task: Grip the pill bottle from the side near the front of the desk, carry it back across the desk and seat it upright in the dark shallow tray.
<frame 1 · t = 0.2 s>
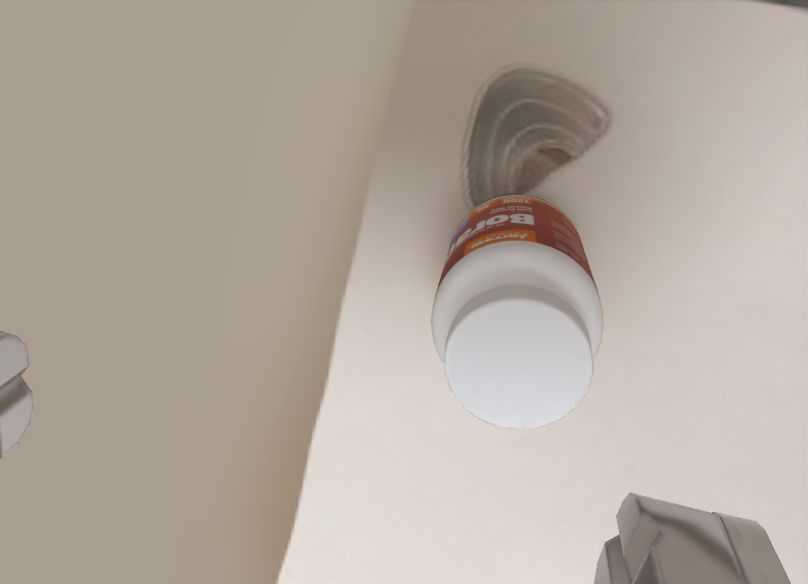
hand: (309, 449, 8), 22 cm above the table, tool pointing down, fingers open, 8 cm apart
pill bottle: (513, 255, 30), on the table
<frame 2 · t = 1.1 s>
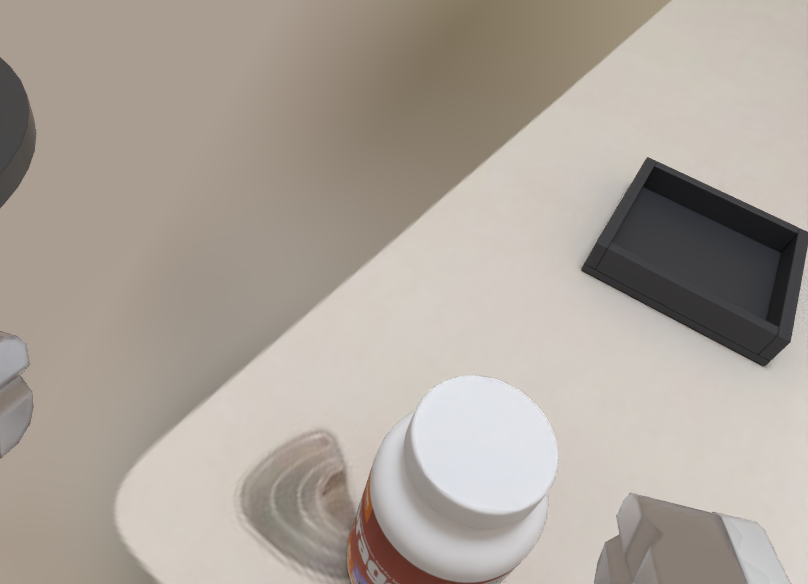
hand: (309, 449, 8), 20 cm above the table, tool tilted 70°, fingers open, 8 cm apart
dark shallow tray: (690, 263, 44), on the table
pill bottle: (415, 563, 27), on the table
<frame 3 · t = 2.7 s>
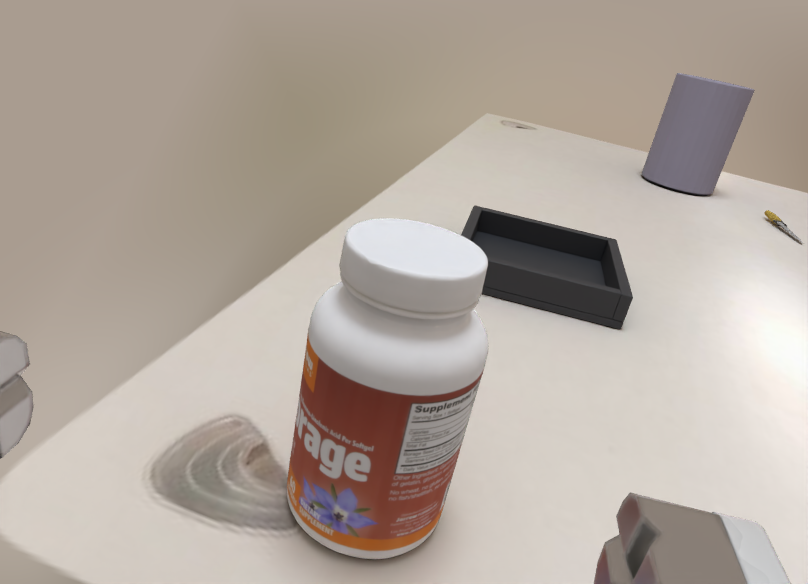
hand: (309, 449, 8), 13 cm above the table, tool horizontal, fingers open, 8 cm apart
dagger: (782, 230, 79), on the table
dark shallow tray: (534, 274, 50), on the table
container: (675, 186, 93), on the table
pill bottle: (363, 505, 25), on the table
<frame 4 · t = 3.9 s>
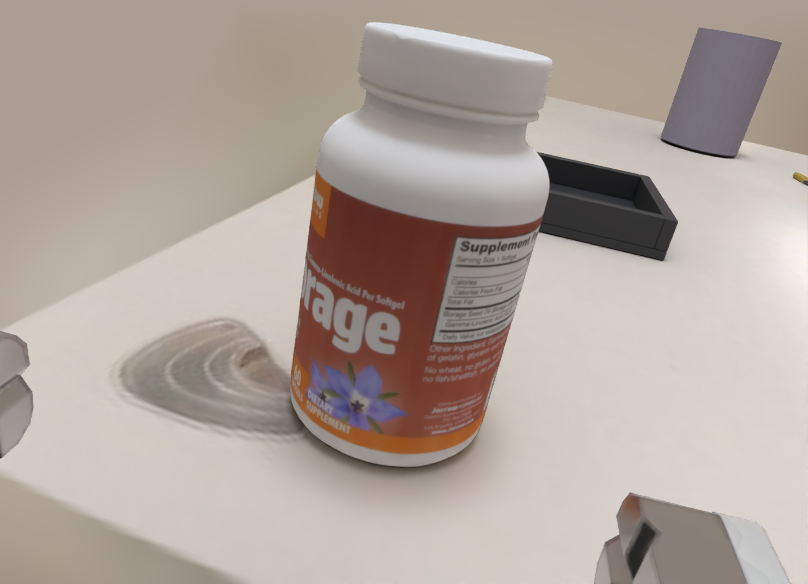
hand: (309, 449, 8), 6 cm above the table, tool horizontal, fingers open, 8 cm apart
dark shallow tray: (561, 210, 45), on the table
container: (696, 149, 89), on the table
pill bottle: (385, 413, 20), on the table
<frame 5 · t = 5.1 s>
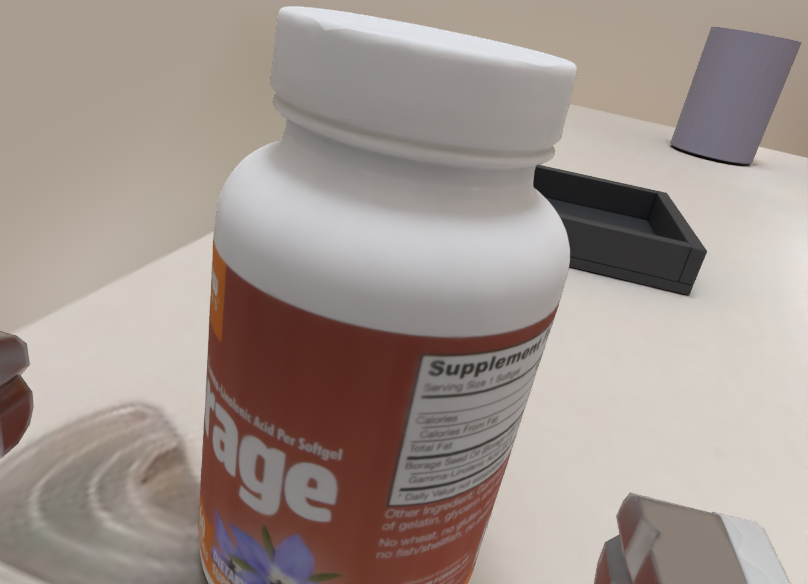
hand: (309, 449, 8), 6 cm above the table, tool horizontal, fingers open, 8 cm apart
dark shallow tray: (568, 233, 40), on the table
container: (708, 156, 83), on the table
pill bottle: (337, 552, 14), on the table
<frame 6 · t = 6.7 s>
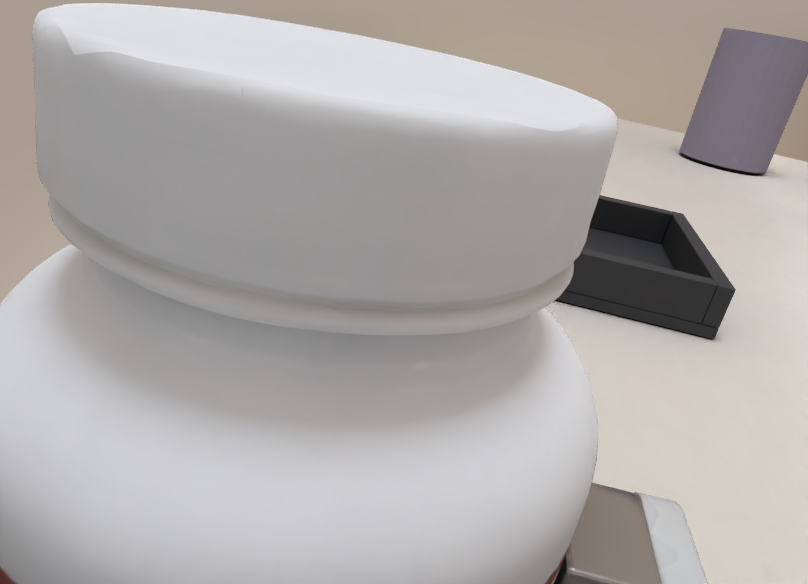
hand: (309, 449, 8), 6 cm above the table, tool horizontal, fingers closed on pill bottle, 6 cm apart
dark shallow tray: (574, 261, 35), on the table
container: (720, 164, 79), on the table
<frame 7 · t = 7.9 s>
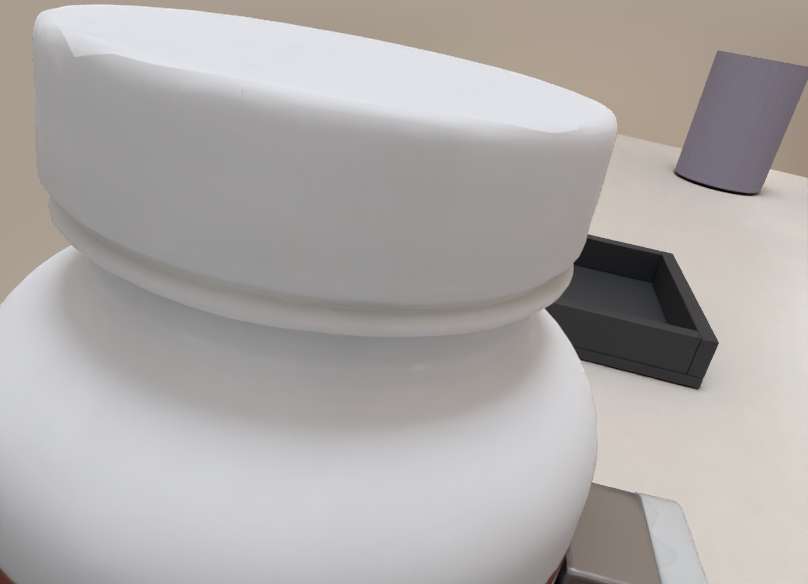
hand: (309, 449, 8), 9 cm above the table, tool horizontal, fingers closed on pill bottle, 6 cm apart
dark shallow tray: (565, 304, 36), on the table
container: (715, 184, 80), on the table
when the fingers open (7 cm above the table, at t = 16.3 s): pill bottle stays where it is, resting on dark shallow tray.
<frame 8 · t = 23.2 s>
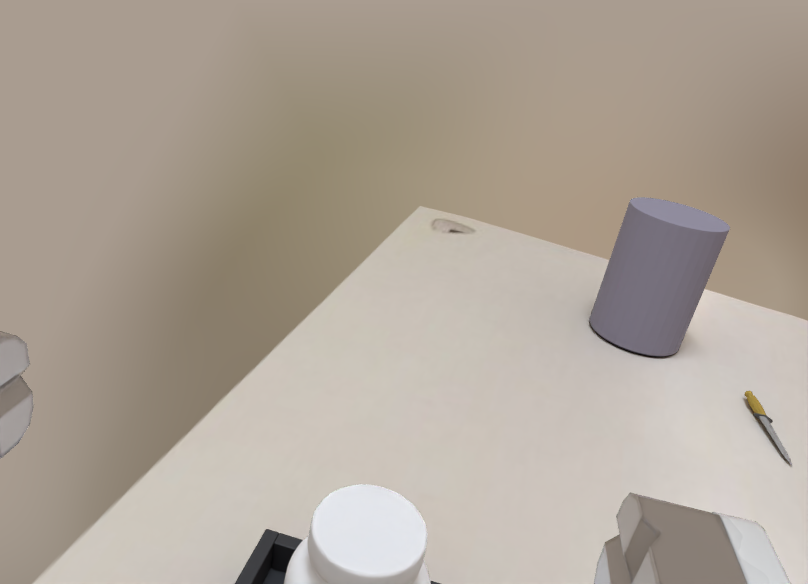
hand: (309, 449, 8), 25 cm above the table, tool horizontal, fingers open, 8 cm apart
dagger: (766, 430, 59), on the table
container: (632, 336, 73), on the table
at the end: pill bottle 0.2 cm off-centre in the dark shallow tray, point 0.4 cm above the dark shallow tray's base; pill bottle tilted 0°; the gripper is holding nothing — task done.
